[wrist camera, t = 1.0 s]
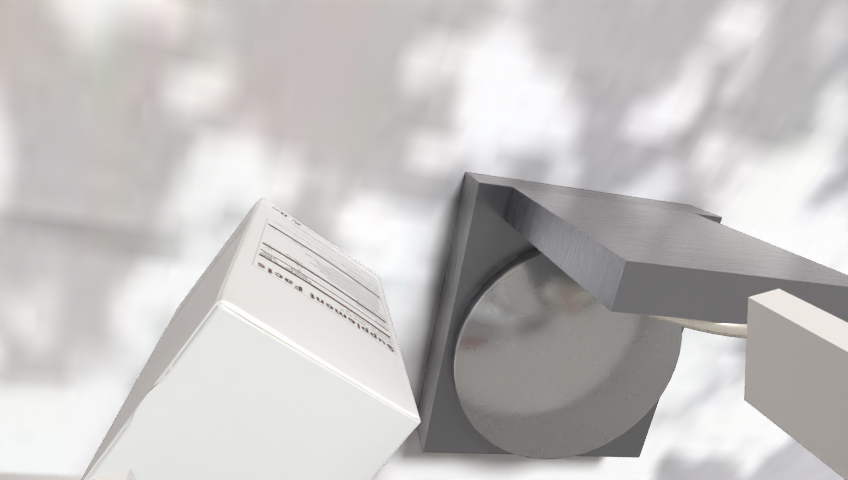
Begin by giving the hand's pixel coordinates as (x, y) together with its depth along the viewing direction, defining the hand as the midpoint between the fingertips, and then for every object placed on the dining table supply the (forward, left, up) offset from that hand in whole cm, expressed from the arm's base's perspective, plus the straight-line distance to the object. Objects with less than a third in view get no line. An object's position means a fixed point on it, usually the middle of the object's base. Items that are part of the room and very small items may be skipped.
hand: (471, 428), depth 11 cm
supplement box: (-5, -7, -22) cm, 24 cm away
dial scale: (+13, -7, -22) cm, 27 cm away
